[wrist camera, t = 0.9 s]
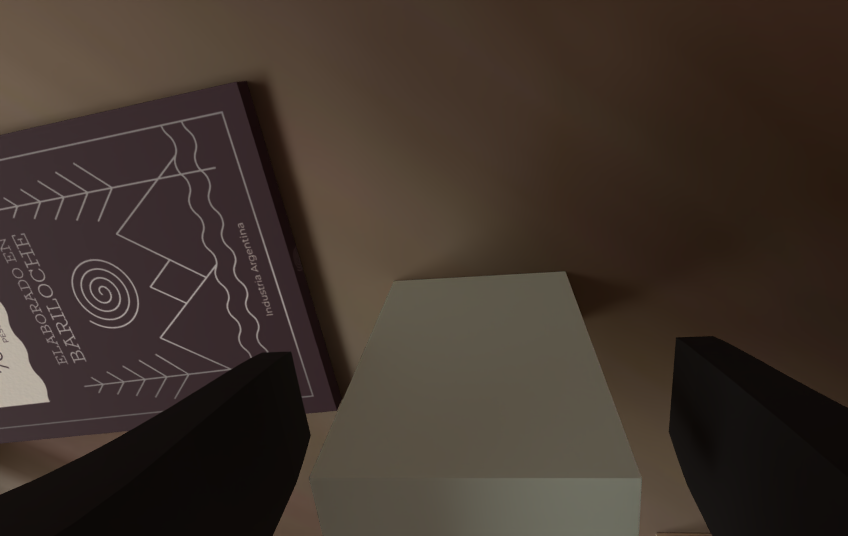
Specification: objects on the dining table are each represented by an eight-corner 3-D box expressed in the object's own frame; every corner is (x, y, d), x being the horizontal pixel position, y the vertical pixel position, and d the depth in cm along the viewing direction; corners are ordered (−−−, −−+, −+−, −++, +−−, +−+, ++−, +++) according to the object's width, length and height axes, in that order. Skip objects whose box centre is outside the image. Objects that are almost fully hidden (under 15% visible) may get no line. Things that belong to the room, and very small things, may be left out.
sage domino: (565, 324, 14) (637, 564, 7) (401, 331, 14) (328, 556, 8) (565, 271, 13) (641, 477, 7) (394, 281, 14) (309, 478, 7)
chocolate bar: (336, 410, 15) (-153, 458, 18) (345, 391, 16) (-123, 440, 19) (236, 81, 12) (-331, 210, 15) (253, 80, 13) (-286, 201, 16)
